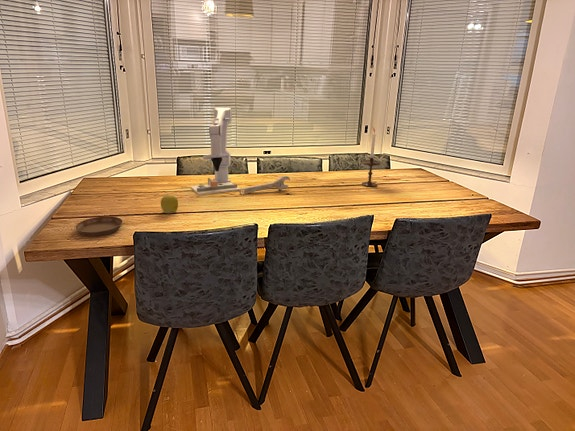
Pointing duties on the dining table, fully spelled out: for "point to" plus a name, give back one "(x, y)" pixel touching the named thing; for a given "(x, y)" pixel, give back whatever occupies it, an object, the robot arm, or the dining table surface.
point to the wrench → (267, 186)
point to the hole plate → (214, 190)
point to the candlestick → (371, 163)
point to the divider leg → (212, 183)
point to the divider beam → (203, 188)
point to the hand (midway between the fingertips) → (216, 170)
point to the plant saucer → (99, 226)
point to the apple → (169, 204)
